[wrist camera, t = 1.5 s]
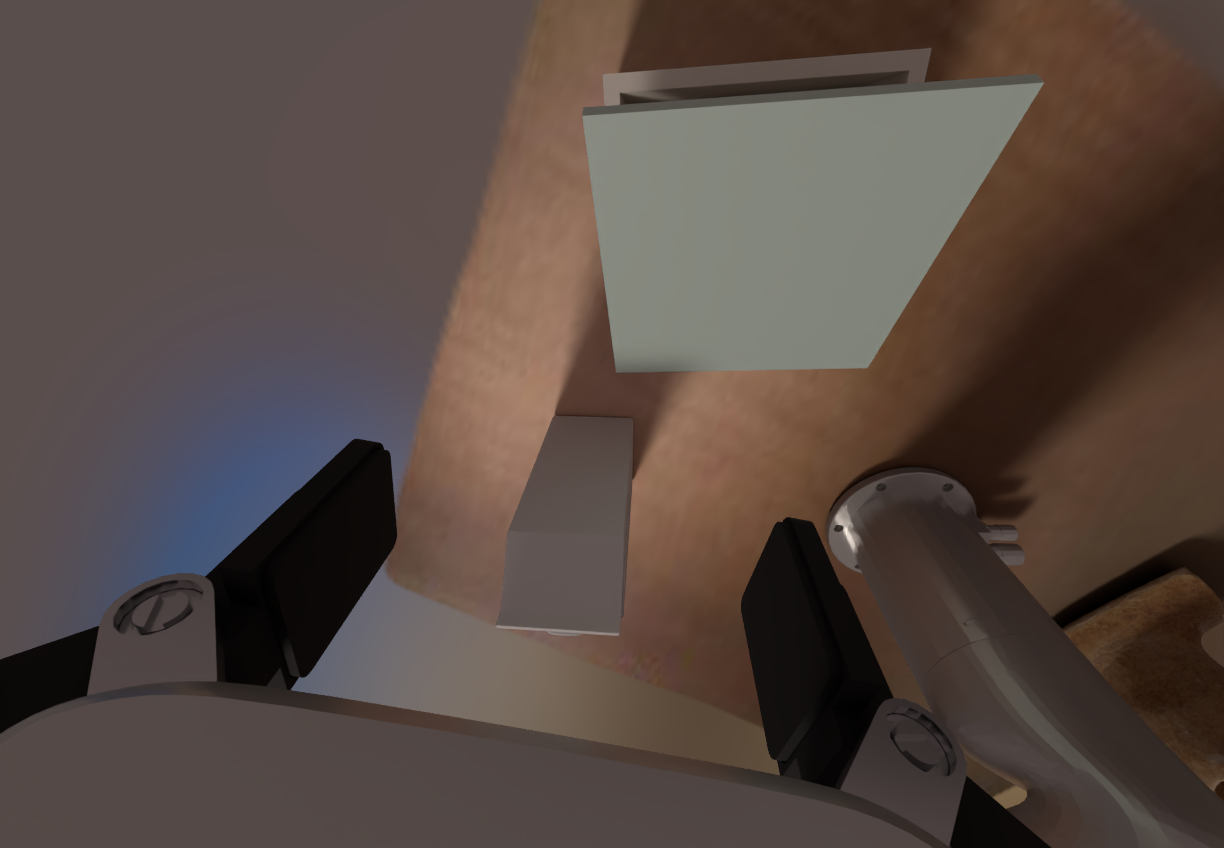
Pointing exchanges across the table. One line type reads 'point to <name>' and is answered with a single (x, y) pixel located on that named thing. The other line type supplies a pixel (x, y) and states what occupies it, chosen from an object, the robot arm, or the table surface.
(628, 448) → the milk carton
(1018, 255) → the table surface
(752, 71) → the pastry box
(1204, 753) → the brown upright piece
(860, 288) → the box lid
